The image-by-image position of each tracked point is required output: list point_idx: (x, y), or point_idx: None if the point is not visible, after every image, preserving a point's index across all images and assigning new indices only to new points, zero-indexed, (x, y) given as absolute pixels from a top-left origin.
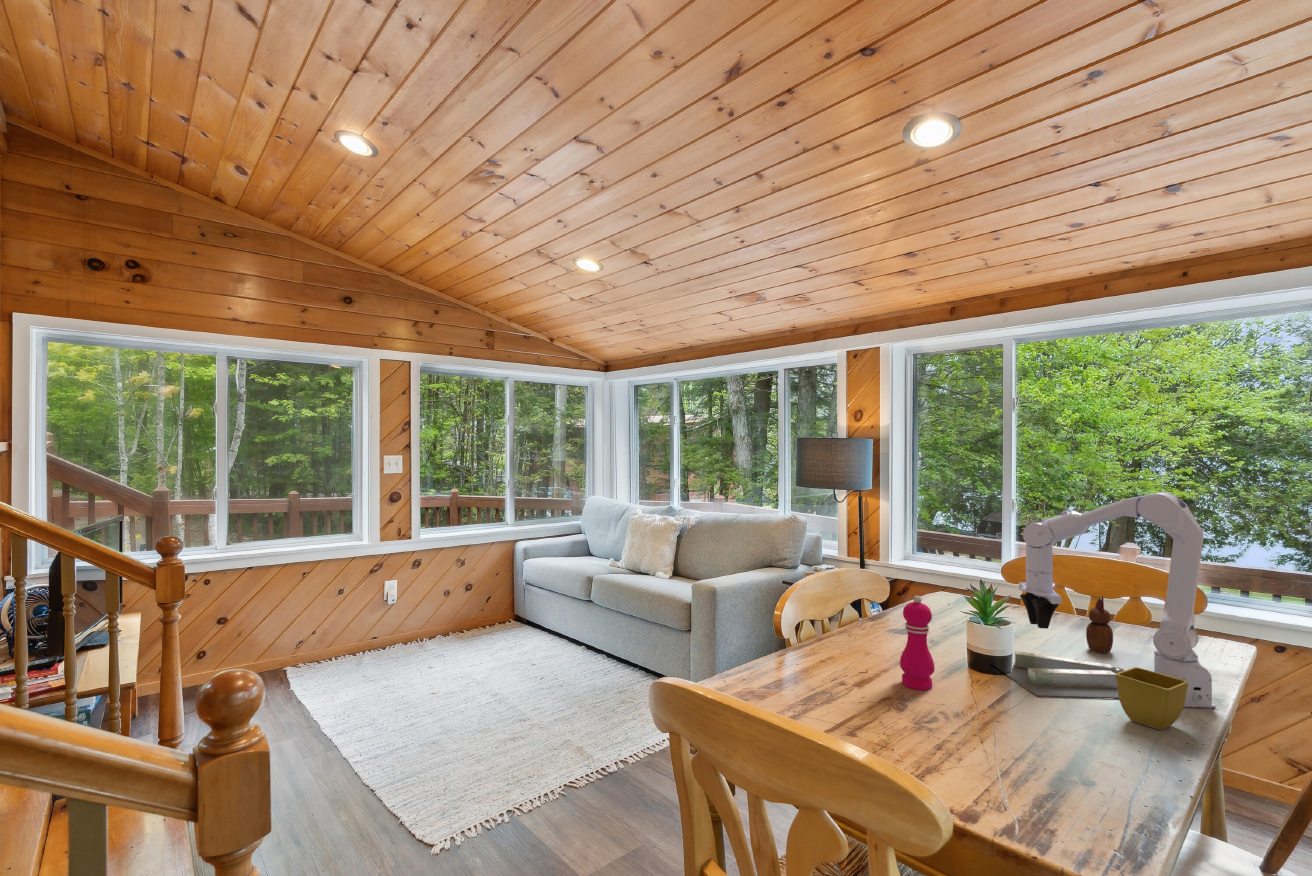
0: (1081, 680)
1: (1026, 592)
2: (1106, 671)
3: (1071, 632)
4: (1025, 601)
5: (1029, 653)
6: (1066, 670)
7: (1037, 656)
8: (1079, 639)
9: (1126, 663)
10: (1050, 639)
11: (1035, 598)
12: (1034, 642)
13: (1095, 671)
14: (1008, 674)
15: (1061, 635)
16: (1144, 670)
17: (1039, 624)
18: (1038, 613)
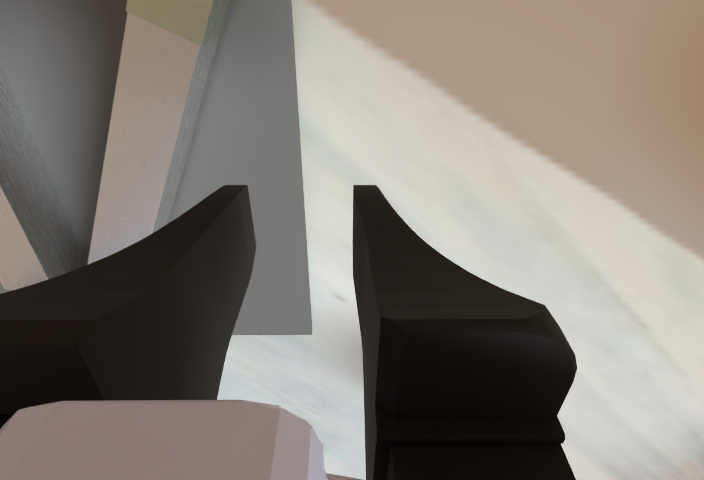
0: None
1: (567, 462)
2: (31, 271)
3: (677, 423)
4: (396, 286)
5: (193, 10)
6: None
7: (139, 35)
8: (603, 408)
9: (357, 404)
10: (637, 334)
11: (371, 434)
12: (625, 261)
13: (2, 227)
14: None
15: (662, 385)
16: None
17: (208, 197)
18: (130, 246)
